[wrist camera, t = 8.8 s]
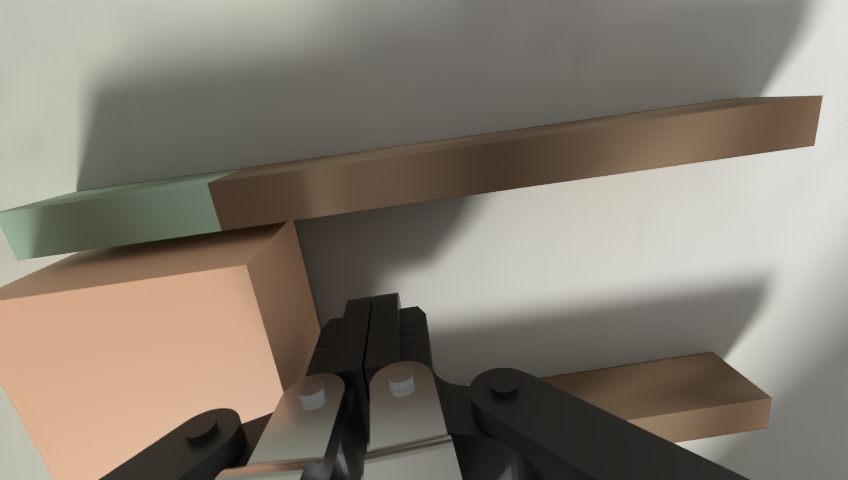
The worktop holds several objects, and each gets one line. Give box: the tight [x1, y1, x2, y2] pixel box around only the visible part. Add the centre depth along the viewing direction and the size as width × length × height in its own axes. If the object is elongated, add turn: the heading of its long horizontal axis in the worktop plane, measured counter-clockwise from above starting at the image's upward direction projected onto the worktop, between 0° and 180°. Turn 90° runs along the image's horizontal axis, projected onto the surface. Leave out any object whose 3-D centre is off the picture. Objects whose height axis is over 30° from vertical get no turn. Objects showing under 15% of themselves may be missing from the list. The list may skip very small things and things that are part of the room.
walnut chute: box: [0, 96, 822, 443], centre depth 13 cm, size 20×10×2 cm, turn 97°
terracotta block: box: [0, 221, 321, 480], centre depth 12 cm, size 6×7×4 cm
